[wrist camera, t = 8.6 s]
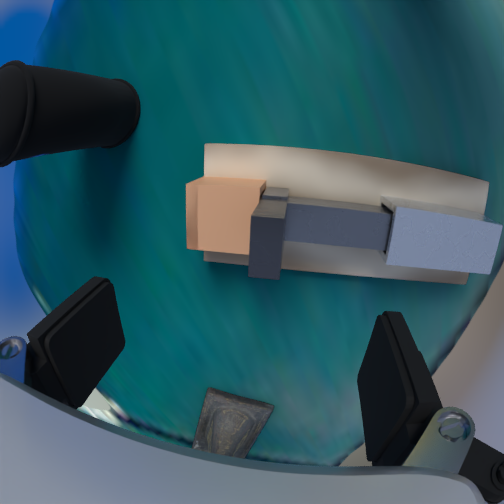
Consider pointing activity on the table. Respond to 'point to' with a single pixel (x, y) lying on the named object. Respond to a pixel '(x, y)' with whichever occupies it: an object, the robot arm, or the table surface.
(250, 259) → the grey bar
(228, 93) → the table surface
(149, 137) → the table surface
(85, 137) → the aerosol can
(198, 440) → the embossing press
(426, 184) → the base board
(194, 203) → the socket
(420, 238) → the pale blue rectangular box
